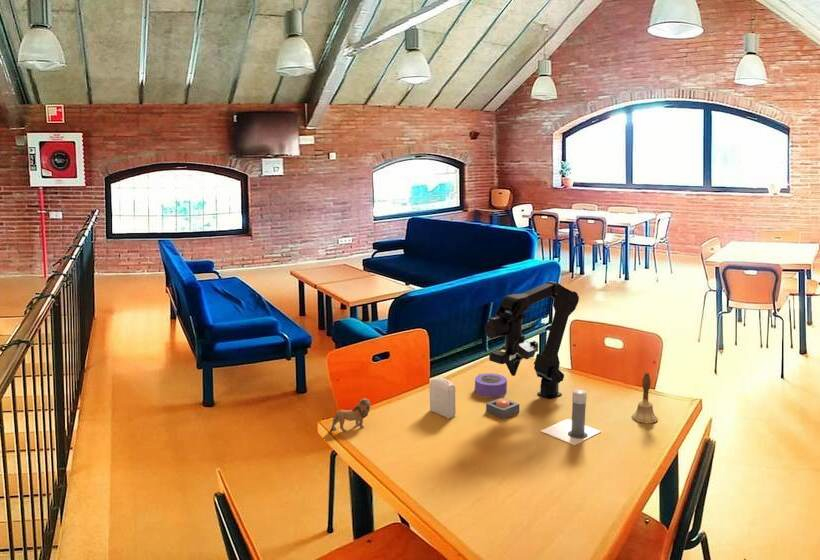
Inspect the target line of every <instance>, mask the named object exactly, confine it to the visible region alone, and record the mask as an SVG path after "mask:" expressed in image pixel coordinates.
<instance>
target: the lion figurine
mask: <svg viewBox="0 0 820 560" xmlns="http://www.w3.org/2000/svg"><path fill="white" fill-rule="evenodd" d="M370 411H371V402H370V399H368V398H362V399H360V400H359V401H358V404H357V405H356V406H355V407H354V408H352V409H347V410H346V409H340V410H337V411H336V412H335V413H334V415H333V418H332V425H331V428H330V430H329V431H328V432H330V433H331V432H332V431H333V430H337V427H336V425H337V424H338V423H339V428H340V430H341V431H342V432H343V433H347V429H345V428H344V424H345V421H347V422H352V421H355V426H357V427H359V428H360V429H362V428H363V429H364V428H365V426H364V425H363V423H364V419H365V418H367V417H368V415H369V413H370Z"/></svg>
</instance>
